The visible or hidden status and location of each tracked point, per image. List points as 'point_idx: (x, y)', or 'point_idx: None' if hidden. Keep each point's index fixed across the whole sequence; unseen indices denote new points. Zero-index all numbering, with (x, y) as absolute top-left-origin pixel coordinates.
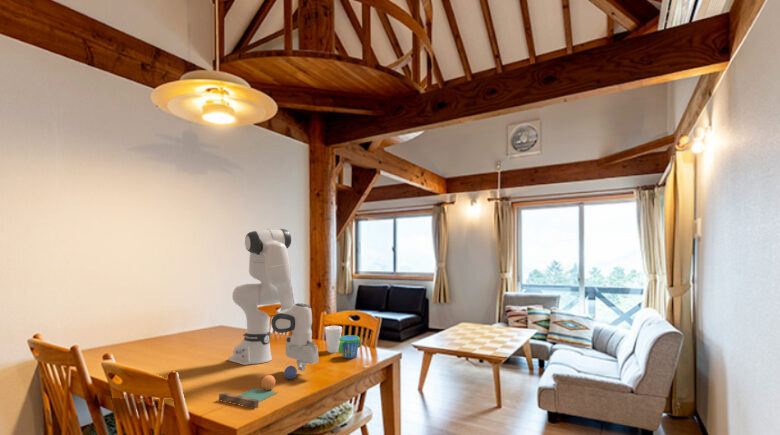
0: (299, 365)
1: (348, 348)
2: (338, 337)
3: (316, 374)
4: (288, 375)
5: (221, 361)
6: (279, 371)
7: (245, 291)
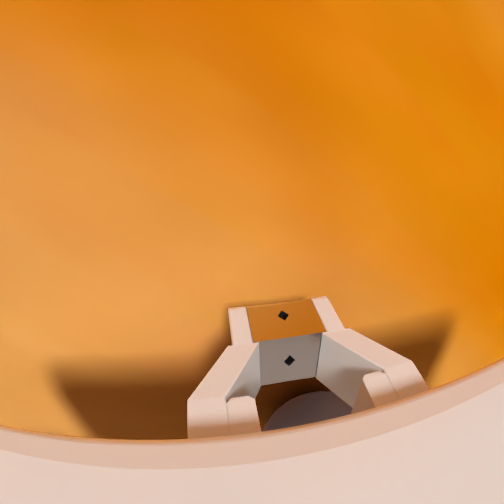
0: (258, 386)
1: None
2: None
3: (422, 169)
4: None
5: None
6: (42, 380)
7: None
